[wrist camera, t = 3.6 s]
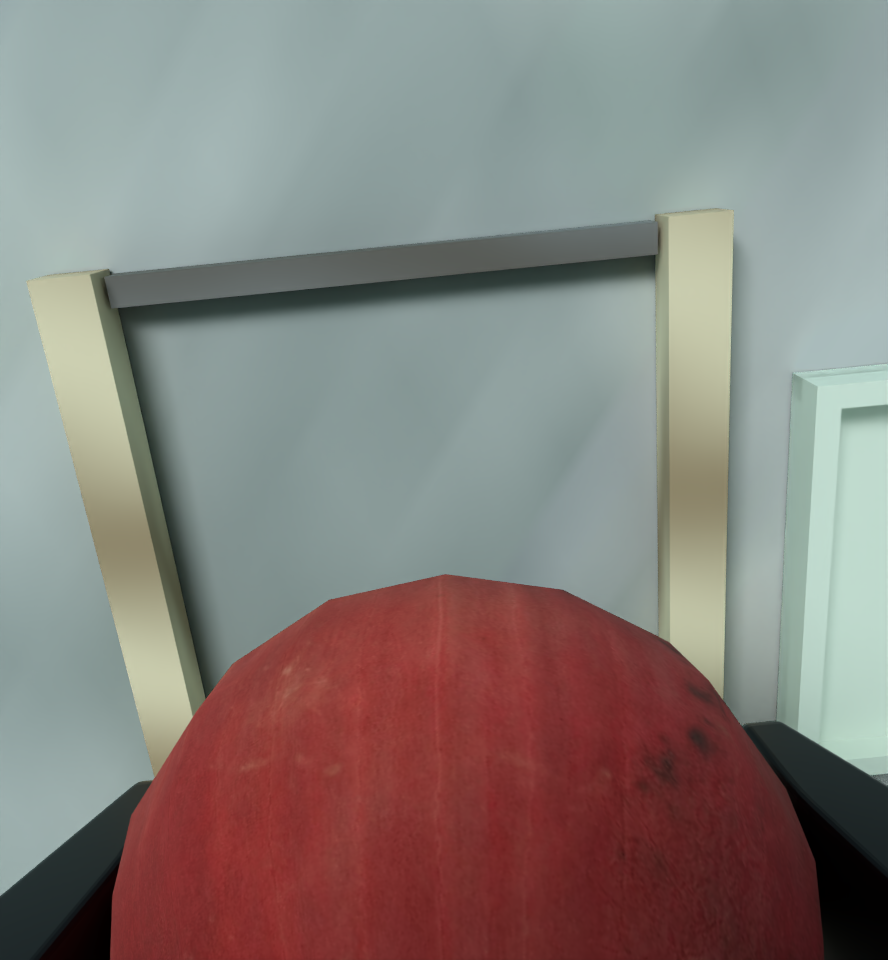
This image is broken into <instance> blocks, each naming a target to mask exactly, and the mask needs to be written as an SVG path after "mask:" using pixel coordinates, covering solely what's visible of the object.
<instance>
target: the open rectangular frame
mask: <svg viewBox="0 0 888 960" xmlns="http://www.w3.org/2000/svg"><path fill="white" fill-rule="evenodd" d="M733 220H734V210H726V209H717V208H715V209H705V210H695V211H685V212H675V213H665V214H655V221H651V220H648V221H638V222H628V223H618V224H608V225H598V226H588V227H578V228H568V229H558V230H548V231H538V232H528V233H518V234H508V235H498V236H488V237H478V238H468V239H458V240H448V241H437V242H427V243H417V244H407V245H397V246H387V247H377V248H367V249H357V250H347V251H337V252H327V253H317V254H307V255H297V256H287V257H277V258H267V259H257V260H247V261H237V262H227V263H217V264H207V265H197V266H187V267H177V268H167V269H157V270H147V271H137V272H127V273H116V274H112V275H110V271H109V269H104V270H94V271H84V272H74V273H64V274H54V275H47V276H43V277H39V278H35V279H32V280H28V281H26V282H27V286H28V289H29V293H30V297H31V301H32V305H33V309H34V313H35V316H36V320H37V324H38V328H39V332H40V336H41V340H42V344H43V347H44V351H45V355H46V359H47V363H48V367H49V371H50V374H51V378H52V382H53V386H54V390H55V394H56V398H57V402H58V405H59V409H60V413H61V417H62V421H63V425H64V429H65V432H66V436H67V440H68V444H69V448H70V452H71V456H72V459H73V463H74V467H75V471H76V475H77V479H78V483H79V487H80V490H81V494H82V498H83V502H84V506H85V510H86V514H87V517H88V521H89V525H90V529H91V533H92V537H93V541H94V544H95V548H96V552H97V556H98V560H99V564H100V568H101V572H102V575H103V579H104V583H105V587H106V591H107V595H108V599H109V602H110V606H111V610H112V614H113V618H114V622H115V626H116V629H117V633H118V637H119V641H120V645H121V649H122V653H123V657H124V660H125V664H126V668H127V672H128V676H129V680H130V684H131V687H132V691H133V695H134V699H135V703H136V707H137V711H138V715H139V718H140V722H141V726H142V730H143V734H144V738H145V742H146V745H147V749H148V753H149V757H150V761H151V765H152V769H153V772H154V776H155V777H156V775H157V773H158V772H159V770H160V769H161V767H162V765H163V764H164V762H165V761H166V759H167V757H168V756H169V754H170V753H171V751H172V749H173V748H174V746H175V745H176V743H177V741H178V740H179V738H180V737H181V735H182V733H183V732H184V730H185V729H186V727H187V725H188V724H189V722H190V721H191V719H192V717H193V716H194V714H195V713H196V711H197V710H198V709H199V707H200V706H201V705H202V703H203V702H204V701H205V699H206V698H205V694H204V689H203V685H202V680H201V676H200V672H199V667H198V663H197V658H196V654H195V649H194V645H193V640H192V636H191V632H190V627H189V623H188V618H187V614H186V609H185V605H184V600H183V596H182V592H181V587H180V583H179V578H178V574H177V569H176V565H175V560H174V556H173V552H172V547H171V543H170V538H169V534H168V529H167V525H166V520H165V516H164V512H163V507H162V503H161V498H160V494H159V489H158V485H157V480H156V476H155V472H154V467H153V463H152V458H151V454H150V449H149V445H148V440H147V436H146V431H145V427H144V423H143V418H142V414H141V409H140V405H139V400H138V396H137V391H136V387H135V383H134V378H133V374H132V369H131V365H130V360H129V356H128V351H127V347H126V343H125V338H124V334H123V329H122V325H121V320H120V316H119V311H118V308H122V307H132V306H142V305H152V304H162V303H173V302H183V301H193V300H203V299H213V298H223V297H233V296H243V295H253V294H263V293H274V292H284V291H294V290H304V289H314V288H324V287H334V286H344V285H354V284H364V283H374V282H385V281H395V280H405V279H415V278H425V277H435V276H445V275H455V274H465V273H475V272H486V271H496V270H506V269H516V268H526V267H536V266H546V265H556V264H566V263H576V262H587V261H597V260H607V259H617V258H627V257H637V256H647V255H655V281H656V392H657V503H658V614H659V637H660V638H662V639H664V640H666V641H668V642H670V643H671V644H672V645H673V646H674V647H675V648H676V649H677V650H678V651H679V652H680V653H681V654H682V655H683V656H684V657H685V658H686V659H687V660H688V661H689V662H690V663H691V664H693V665H694V666H695V667H696V668H697V669H698V670H699V671H700V672H701V673H702V674H703V675H704V676H705V677H706V678H707V679H708V680H709V681H710V683H711V684H712V685H713V687H714V688H715V690H716V691H717V692H718V694H719V695H720V697H721V698H722V699H723V687H724V640H725V593H726V547H727V500H728V453H729V407H730V360H731V313H732V267H733Z"/></svg>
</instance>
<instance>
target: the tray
mask: <svg viewBox="0 0 888 960" xmlns="http://www.w3.org/2000/svg"><path fill="white" fill-rule="evenodd" d="M776 721H780V722H782V723H784V724H786V725H788V726H789V727H791V728H793V729H794V730H796V731H798V732H799V733H801V734H803V735H804V736H806V737H808V738H809V739H811V740H813V741H814V742H816V743H818V744H819V745H821V746H823V747H824V748H826V749H828V750H829V751H831V752H833V753H834V754H836V755H838V756H839V757H841V758H842V759H844V760H846V761H847V762H849V763H851V764H852V765H854V766H856V767H857V768H859V769H861V770H862V771H864V772H866V773H867V774H869V775H877V774H888V364H881V365H871V366H860V367H850V368H840V369H829V370H819V371H809V372H798V373H793V377H792V399H791V420H790V441H789V462H788V483H787V505H786V526H785V547H784V568H783V589H782V610H781V632H780V653H779V674H778V695H777V716H776Z"/></svg>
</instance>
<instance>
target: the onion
mask: <svg viewBox="0 0 888 960" xmlns="http://www.w3.org/2000/svg"><path fill="white" fill-rule="evenodd" d="M110 960H824V944H823V932H822V922H821V912H820V902H819V892H818V882H817V872H816V862H815V859H814V857H813V854H812V852H811V849H810V847H809V844H808V842H807V839H806V837H805V834H804V832H803V830H802V827H801V825H800V822H799V820H798V817H797V815H796V812H795V810H794V807H793V805H792V802H791V800H790V797H789V795H788V792H787V790H786V788H785V787H784V785H783V784H782V783H781V781H780V780H779V778H778V777H777V775H776V774H775V773H774V771H773V770H772V768H771V767H770V766H769V764H768V763H767V761H766V760H765V759H764V757H763V756H762V754H761V753H760V752H759V750H758V749H757V747H756V746H755V745H754V743H753V742H752V740H751V739H750V737H749V736H748V735H747V733H746V732H745V730H744V729H743V728H742V726H741V725H740V723H739V722H738V721H737V719H736V718H735V716H734V715H733V714H732V712H731V711H730V709H729V708H728V706H727V705H726V704H725V702H724V701H723V699H722V698H721V697H720V695H719V694H718V692H717V691H716V690H715V688H714V687H713V685H712V684H711V683H710V681H709V680H708V679H707V678H706V677H705V676H704V675H703V674H702V673H701V672H700V671H699V670H698V669H697V668H696V667H695V666H694V665H693V664H691V663H690V662H689V661H688V660H687V659H686V658H685V657H684V656H683V655H682V654H681V653H680V652H679V651H678V650H677V649H676V648H675V647H674V646H673V645H672V644H671V643H670V642H668V641H666V640H664V639H662V638H660V637H658V636H656V635H654V634H652V633H650V632H648V631H646V630H644V629H642V628H640V627H638V626H636V625H634V624H631V623H629V622H627V621H625V620H623V619H621V618H619V617H617V616H615V615H613V614H611V613H609V612H607V611H605V610H603V609H601V608H599V607H597V606H595V605H593V604H591V603H589V602H587V601H585V600H583V599H580V598H578V597H576V596H574V595H572V594H570V593H568V592H566V591H564V590H560V589H552V588H545V587H537V586H530V585H522V584H515V583H507V582H500V581H492V580H485V579H477V578H470V577H462V576H454V575H447V574H445V575H440V576H436V577H431V578H427V579H422V580H417V581H413V582H408V583H404V584H399V585H395V586H390V587H386V588H381V589H377V590H372V591H368V592H363V593H358V594H354V595H349V596H345V597H340V598H336V599H331V600H328V601H327V602H325V603H324V604H322V605H321V606H319V607H318V608H316V609H315V610H313V611H312V612H310V613H309V614H307V615H306V616H304V617H303V618H301V619H300V620H298V621H297V622H295V623H294V624H292V625H291V626H289V627H287V628H286V629H284V630H283V631H281V632H280V633H278V634H277V635H275V636H274V637H272V638H271V639H269V640H268V641H266V642H265V643H263V644H262V645H260V646H259V647H257V648H256V649H254V650H253V651H251V652H250V653H248V654H247V655H245V656H244V657H242V658H241V659H239V660H238V661H236V662H235V663H233V664H232V665H231V667H230V668H229V669H228V671H227V672H226V673H225V675H224V676H223V677H222V678H221V680H220V681H219V682H218V684H217V685H216V686H215V688H214V689H213V690H212V692H211V693H210V694H209V695H208V697H207V698H206V699H205V701H204V702H203V703H202V705H201V706H200V707H199V709H198V710H197V711H196V713H195V714H194V716H193V717H192V719H191V721H190V722H189V724H188V725H187V727H186V729H185V730H184V732H183V733H182V735H181V737H180V738H179V740H178V741H177V743H176V745H175V746H174V748H173V749H172V751H171V753H170V754H169V756H168V757H167V759H166V761H165V762H164V764H163V765H162V767H161V769H160V770H159V772H158V773H157V775H156V777H155V778H154V780H153V781H152V783H151V785H150V786H149V788H148V789H147V791H146V793H145V794H144V796H143V797H142V799H141V801H140V802H139V804H138V805H137V807H136V809H135V810H134V812H133V813H132V815H131V819H130V823H129V827H128V831H127V836H126V840H125V844H124V848H123V853H122V857H121V861H120V865H119V870H118V874H117V878H116V882H115V887H114V891H113V895H112V921H111V948H110Z"/></svg>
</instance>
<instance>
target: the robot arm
mask: <svg viewBox="0 0 888 960" xmlns="http://www.w3.org/2000/svg"><path fill="white" fill-rule="evenodd" d="M742 728H743V729H744V730H745V732H746V733H747V735H748V736H749V737H750V739H751V740H752V742H753V743H754V745H755V746H756V747H757V749H758V750H759V752H760V753H761V754H762V756H763V757H764V759H765V760H766V761H767V763H768V764H769V766H770V767H771V768H772V770H773V771H774V773H775V774H776V775H777V777H778V778H779V780H780V781H781V783H782V784H783V785H784V787H785V788H786V790H787V792H788V795H789V797H790V800H791V802H792V805H793V807H794V810H795V812H796V815H797V817H798V820H799V822H800V825H801V827H802V830H803V832H804V834H805V837H806V839H807V842H808V844H809V847H810V849H811V852H812V854H813V857H814V859H815V862H816V872H817V882H818V892H819V902H820V912H821V922H822V932H823V944H824V960H888V786H887V785H886V784H884V783H882V782H881V781H879V780H877V779H876V778H874V777H872V776H871V775H869V774H867V773H866V772H864V771H862V770H861V769H859V768H857V767H856V766H854V765H852V764H851V763H849V762H847V761H846V760H844V759H842V758H841V757H839V756H838V755H836V754H834V753H833V752H831V751H829V750H828V749H826V748H824V747H823V746H821V745H819V744H818V743H816V742H814V741H813V740H811V739H809V738H808V737H806V736H804V735H803V734H801V733H799V732H798V731H796V730H794V729H793V728H791V727H789V726H788V725H786V724H784V723H782V722H780V721H766V722H756V723H746V724H744V725H743V726H742ZM152 781H153V780H150V781H142V782H139V783H136V784H135V785H134V786H132V787H131V788H130V789H129V790H127V791H126V792H125V793H124V794H123V795H121V796H120V797H119V798H118V799H117V800H115V801H114V802H113V803H112V804H111V805H109V806H108V807H107V808H106V809H104V810H103V811H102V812H101V813H100V814H98V815H97V816H96V817H95V818H94V819H92V820H91V821H90V822H89V823H88V824H86V825H85V826H84V827H83V828H82V829H80V830H79V831H78V832H77V833H76V834H74V835H73V836H72V837H71V838H70V839H68V840H67V841H66V842H65V843H64V844H62V845H61V846H60V847H59V848H58V849H56V850H55V851H54V852H53V853H52V854H50V855H49V856H48V857H47V858H46V859H44V860H43V861H42V862H41V863H40V864H38V865H37V866H36V867H35V868H34V869H32V870H31V871H30V872H29V873H28V874H26V875H25V876H24V877H23V878H22V879H20V880H19V881H18V882H17V883H16V884H14V885H13V886H12V887H11V888H10V889H8V890H7V891H6V892H5V893H3V894H2V895H1V896H0V960H110V948H111V921H112V895H113V891H114V887H115V882H116V878H117V874H118V870H119V865H120V861H121V857H122V853H123V848H124V844H125V840H126V836H127V831H128V827H129V823H130V819H131V815H132V813H133V812H134V810H135V809H136V807H137V805H138V804H139V802H140V801H141V799H142V797H143V796H144V794H145V793H146V791H147V789H148V788H149V786H150V785H151V783H152Z"/></svg>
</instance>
